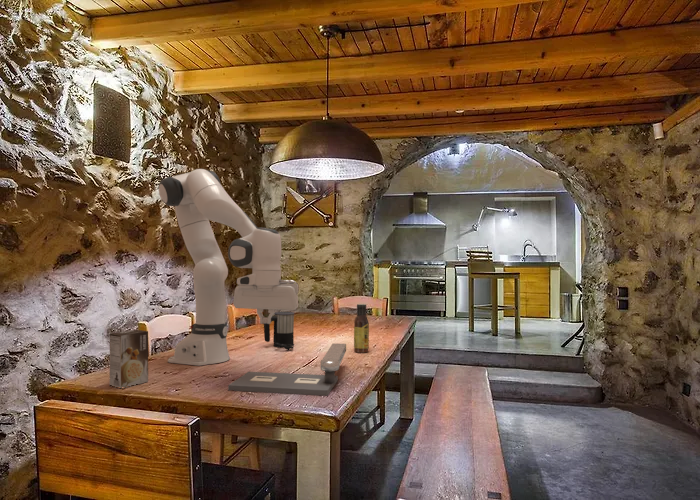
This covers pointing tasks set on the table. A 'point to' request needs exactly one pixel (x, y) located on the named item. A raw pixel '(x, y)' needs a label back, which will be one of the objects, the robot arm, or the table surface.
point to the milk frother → (281, 330)
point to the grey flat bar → (333, 357)
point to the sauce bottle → (361, 330)
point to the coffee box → (128, 358)
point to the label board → (285, 383)
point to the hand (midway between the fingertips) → (265, 323)
